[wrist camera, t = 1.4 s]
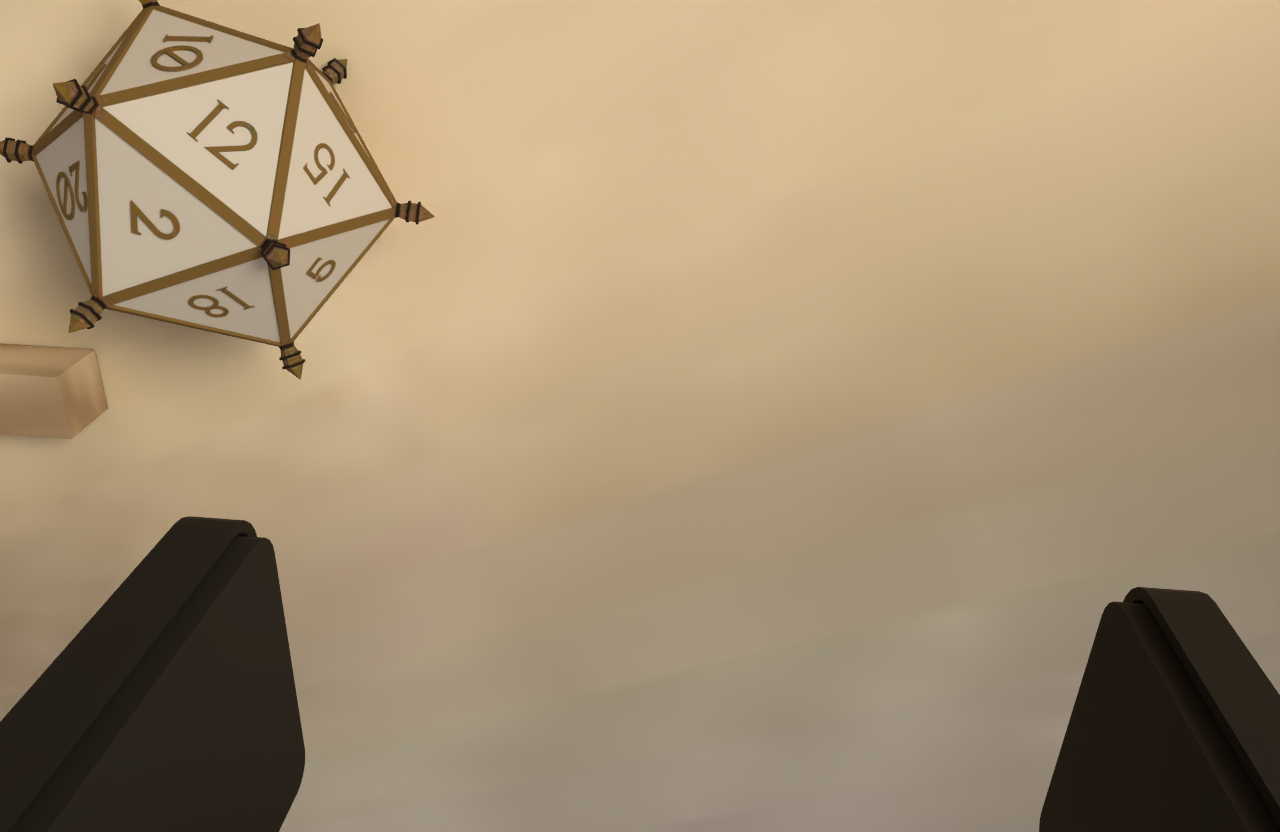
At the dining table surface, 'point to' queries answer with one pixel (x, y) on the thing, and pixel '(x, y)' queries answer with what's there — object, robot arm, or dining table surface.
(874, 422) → the dining table surface
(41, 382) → the u-shaped tan bracket
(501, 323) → the dining table surface
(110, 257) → the game die
